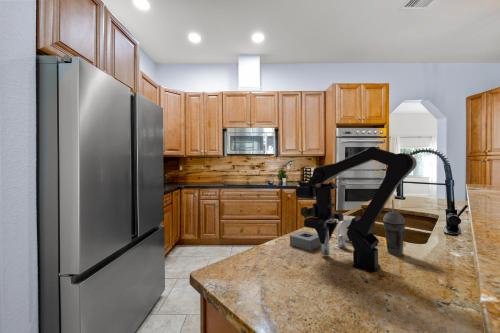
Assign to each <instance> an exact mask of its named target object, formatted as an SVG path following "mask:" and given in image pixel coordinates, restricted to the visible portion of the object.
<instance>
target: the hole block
mask: <svg viewBox="0 0 500 333" xmlns="http://www.w3.org/2000/svg"><path fill="white" fill-rule="evenodd" d="M292 245H293V246H292ZM289 246H292V247H295V246H296V247H295V248H299V249H302V250H307V251H309V252H311V251H314V250H315V249H317V248H319V247H321V242H320V239H319V237H318V234H317V232H310V231H306V230H301V231H297V232H296V233H294V234H290V235H289Z"/></svg>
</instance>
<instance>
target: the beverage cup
mask: <svg viewBox="0 0 500 333" xmlns="http://www.w3.org/2000/svg"><path fill="white" fill-rule="evenodd" d="M391 207H392V208H391V210H392V211H388V212H387V213H385V214H384V215H383V219H382V223H383V224H382V225H383V228H384V235H385V243H386V249H387V253H388V254H389V255H391V256H396V257H397V256H398V257H399V256H403V247H404V238H405V237H404V236H405V235H404V232H405V228H406V220H405V218H404V216H403V215H402V214H401V212H397V211H395V204H394V199H393V198H392V199H391Z"/></svg>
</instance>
